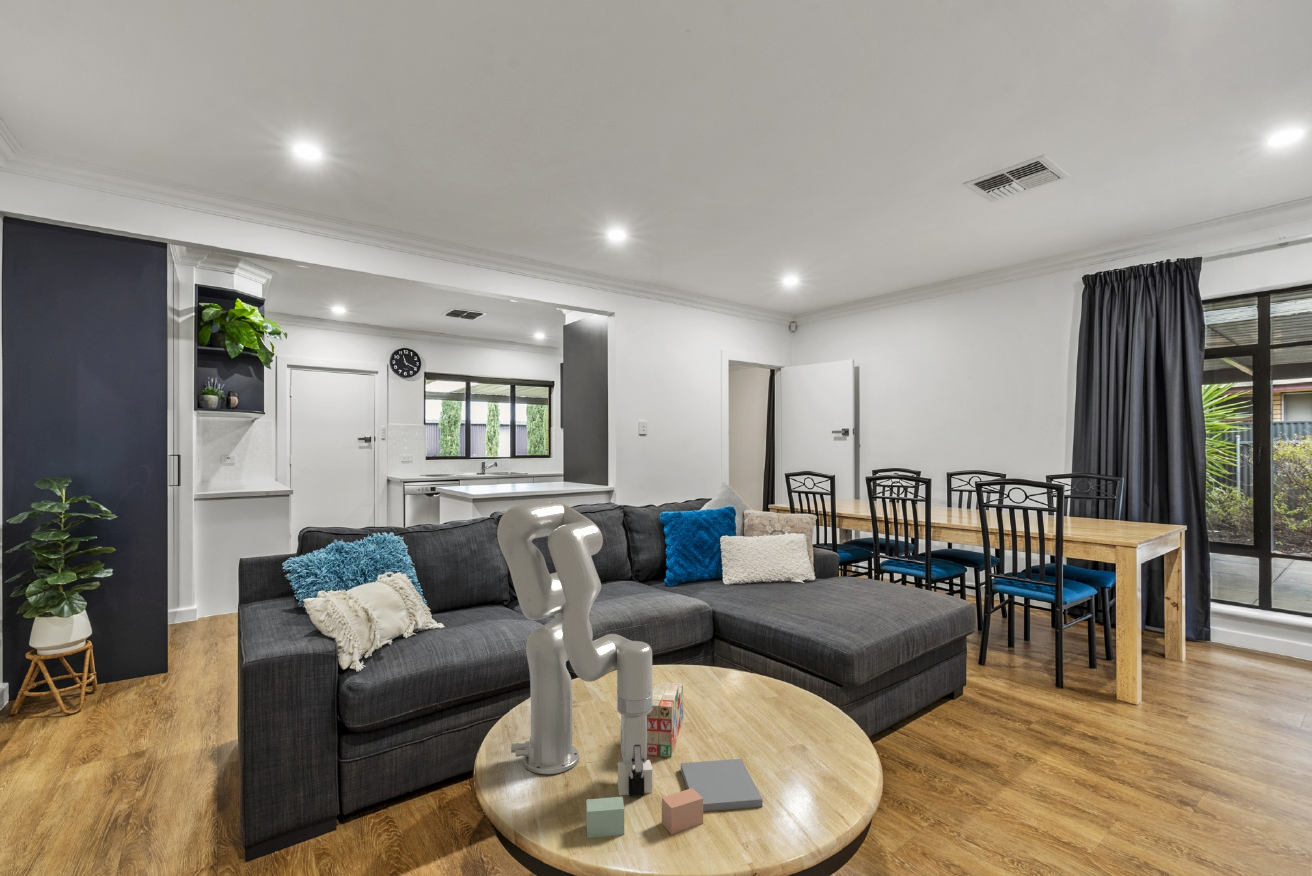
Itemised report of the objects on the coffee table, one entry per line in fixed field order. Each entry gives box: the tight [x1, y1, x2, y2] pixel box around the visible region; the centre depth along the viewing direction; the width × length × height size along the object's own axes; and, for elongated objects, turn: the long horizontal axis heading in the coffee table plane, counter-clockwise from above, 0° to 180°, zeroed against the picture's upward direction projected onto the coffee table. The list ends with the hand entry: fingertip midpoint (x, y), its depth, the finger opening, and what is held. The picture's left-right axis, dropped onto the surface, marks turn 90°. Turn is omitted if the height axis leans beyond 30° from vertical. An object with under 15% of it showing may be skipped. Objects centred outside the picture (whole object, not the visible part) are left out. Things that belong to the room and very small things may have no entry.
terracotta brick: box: [661, 788, 704, 835], centre depth 120 cm, size 7×4×5 cm, turn 118°
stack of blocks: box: [647, 681, 684, 759], centre depth 156 cm, size 21×6×12 cm, turn 170°
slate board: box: [680, 758, 763, 813], centre depth 133 cm, size 14×16×2 cm
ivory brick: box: [617, 759, 653, 796], centre depth 132 cm, size 7×4×5 cm, turn 97°
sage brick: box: [585, 796, 625, 839], centre depth 118 cm, size 7×4×5 cm, turn 98°
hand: (634, 786), depth 132 cm, fingers open, 5 cm apart
